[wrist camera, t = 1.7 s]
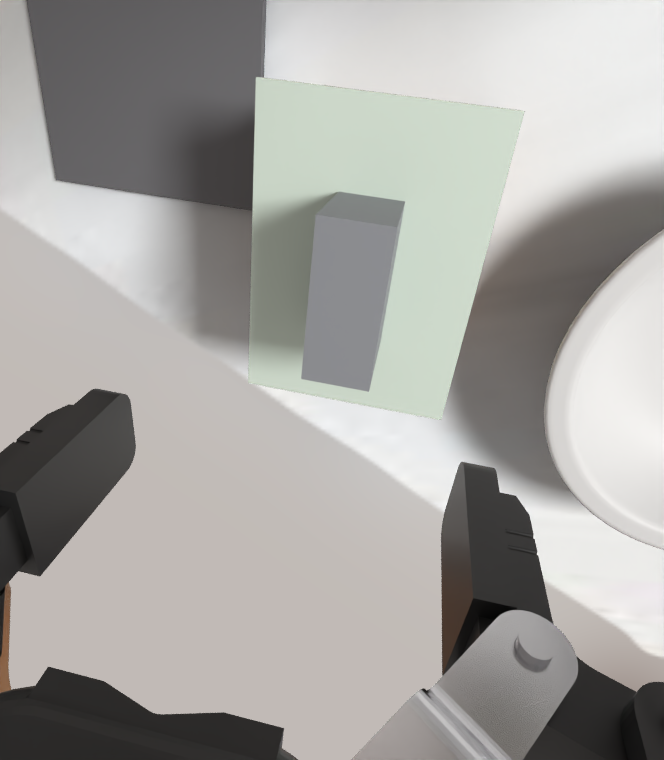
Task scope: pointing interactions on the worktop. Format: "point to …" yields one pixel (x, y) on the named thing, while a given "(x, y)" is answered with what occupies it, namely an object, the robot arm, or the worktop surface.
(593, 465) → the white sink basin
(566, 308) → the worktop surface
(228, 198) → the rubber mat
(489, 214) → the lid
